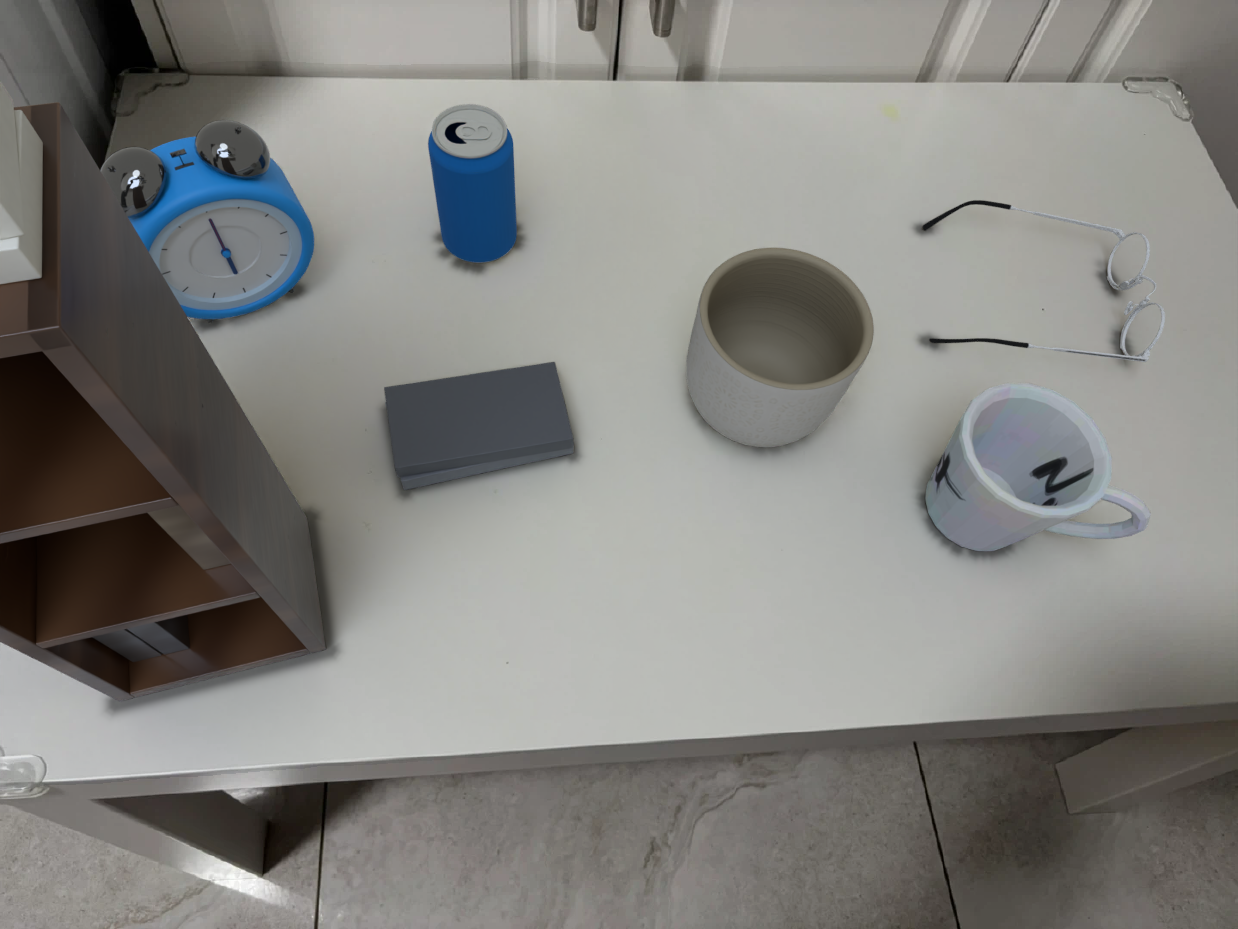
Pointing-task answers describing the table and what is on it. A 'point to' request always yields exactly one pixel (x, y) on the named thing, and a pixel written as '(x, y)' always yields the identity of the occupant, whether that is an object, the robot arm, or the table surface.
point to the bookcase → (132, 467)
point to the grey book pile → (476, 423)
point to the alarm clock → (215, 218)
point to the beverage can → (474, 182)
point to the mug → (1025, 472)
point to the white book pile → (19, 195)
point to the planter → (775, 345)
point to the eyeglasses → (1123, 286)
